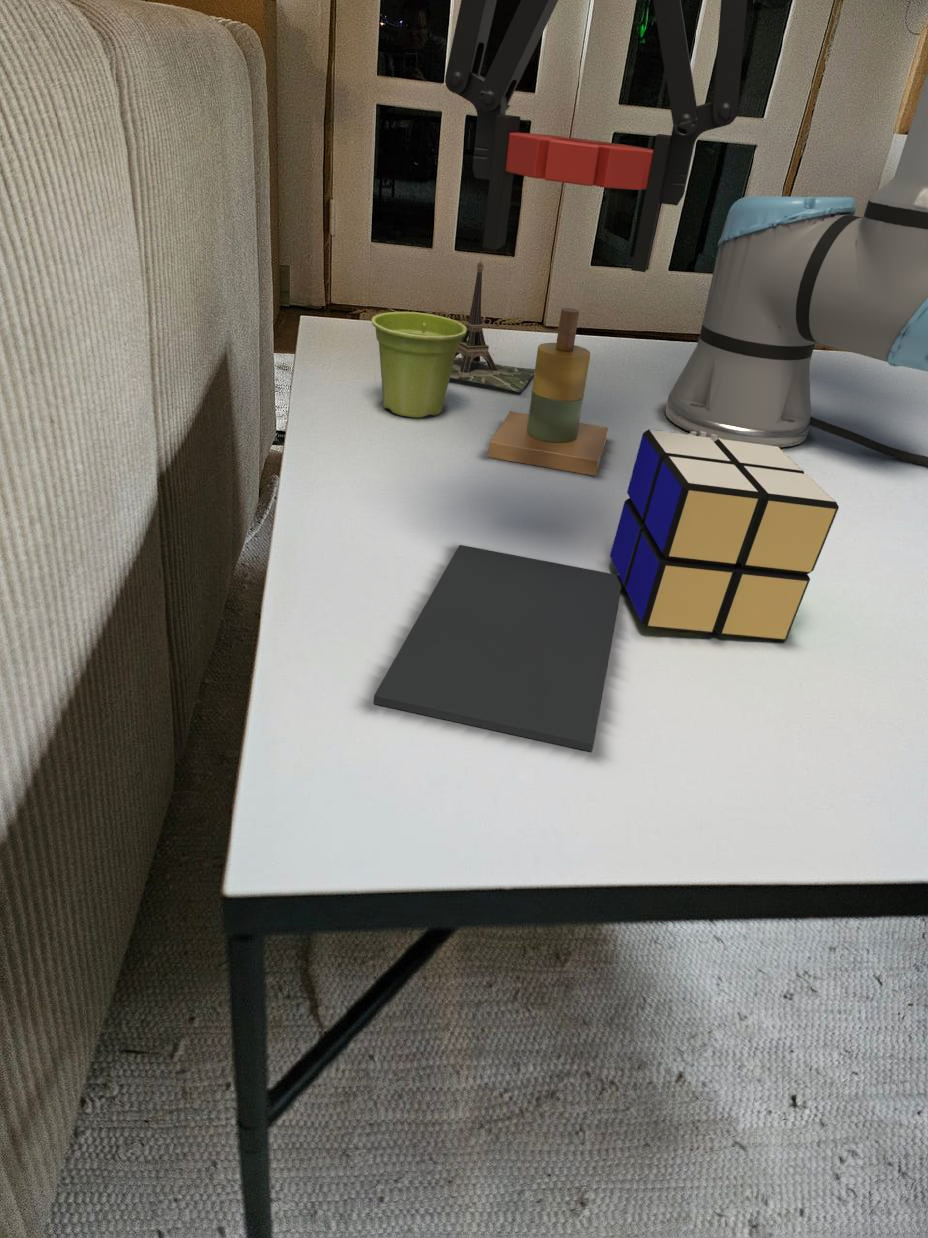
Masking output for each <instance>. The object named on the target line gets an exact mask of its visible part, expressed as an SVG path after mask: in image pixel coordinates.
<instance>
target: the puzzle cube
mask: <svg viewBox="0 0 928 1238" xmlns="http://www.w3.org/2000/svg"><path fill="white" fill-rule="evenodd" d="M626 493H627V495H628V498H626V499H625V500H624V502H623V506H622V510H621V513H620V517H619V520H618V525H617V528H616V530H615V531H616V532H615V535H614V539H613V541H612V542H613V543H612V547H611V551H610V554H609V557H610V560H611V561H612V564H613V566H614V568H615V570H616V572H617V575H619V576H620V578H621V580H622V586H624V587H625V591H626V594H627V595H628V597H629V600H630V602H631V604H632V606H633V608H634V610H635V612H636V614H637V616H638V618H639V621H640V623H641V624H642V626H643V627H644V628H645V629H656V630H658V629H659V630H666V631H667V630H668V631H678V632H689V633H697V634H707V635H708V634H712V633H713V632H714V631H715V632H716V633H717V636H727V637H737V638H748V639H759V640H769V641H778V642H779V641H780V642H782V641H785V640H786V639H787V638H788V637H789V635H790V632H791V629H792V627H793V623H794V621H795V618H796V616H797V614H798V612H799V608H800V607H801V604H802V601H803V599H804V597H805V594H806V592H807V588H808V586H809V583H810V581H811V577H810V575H809V574H810V573H812V572H813V571H814V570H815V568H816V565H817V563H818V561H819V558H820V556H821V553H822V550H823V548H824V546H825V544H826V540H827V538H828V536H829V533H830V531H831V529H832V526H833V523H834V521H835V519H836V517H837V514H838V511H839V508H840V506H839V505H838V502H837V501H836V500H835V499H834V498H833V497H832V496H831V495H829V493H828V492H826V491H825V489H823V488H822V487H821V486H820V485H819V484H818V483H817V482H816V481H815V480H814V479H813V478H812V477H811V476H810V475H809V474H808V473H805V472H804V469H802V468H801V467H800V466H799V465H798V464H797V463H796V462H795V461H794V460H793V459H792V458H791V457H790V456H789V455H788V454H786V453H785V451H783V450H782V449H781V447H777V446H769V445H762V444H755V443H747V442H740V441H732V440H725V439H717V440H716V441H714V442H713V441H712V440H711V438H709V437H702V436H699V435H696V436H694V435H688V433H687V434H686V433H679V432H671V431H666V430H665V431H663V430H658V429H657V430H656V429H647V430H646V431H644V432H642V436H641V438H640V443H639V447H638V450H637V454H636V457H635V462H634V465H633V469H632V472H631V476H630V479H629V484H628V487H627V491H626Z"/></svg>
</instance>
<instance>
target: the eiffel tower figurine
mask: <svg viewBox="0 0 928 1238" xmlns="http://www.w3.org/2000/svg"><path fill="white" fill-rule="evenodd" d="M482 256H483V252H481V254H480V259H482V258H483V257H482ZM476 264H477V266H476V270H477V271H476V278H475V284H474V288H473V289H474V291H473V295H472V300H471V301H472V302H471V307H470V311H469V316H468V319H467V321H466V322H465V324H466V325H465V326H466V328H467V331H466V334H465V335H464V336H463V337H462V339H461V342H460V346H459V348H458V349H457V350H456V354H455V358H454V362H453V366H452V370H451V374H450V379H455V380H460V381H461V380H462V381H467V382H472V383H475V384H483V385H487V386H491V387H496V388H500V389H504V390H507V391H508V390H509V391H511V392H512V391H513V392H519V393H521V392H522V391H523V390H524V388H525V387H526V385H527V384H528V383H529V381H530V380H531V379H532V377H534V373H535V368H531V367H529V368H528V367H519V366H518V367H517V366H509V365H502V364H498V363H495V361H494V360H493V358H492V355H491V353H490V352H489V347H490V346H489V345H488V344H486V340H485V336H484V330H483V327H484V324H483V323H482V322H483V321H482V289H483V288H482V287H483V285H482V283H483V270H484V263H483V261H482V260H480V261H479V262H478V263H476ZM458 355H461V357H457V356H458ZM481 357H482V358H483V359H484V360H485V361H482V360H481Z"/></svg>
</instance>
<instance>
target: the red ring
mask: <svg viewBox="0 0 928 1238" xmlns="http://www.w3.org/2000/svg"><path fill="white" fill-rule="evenodd" d="M653 151H654V149H652V148H649V147H641V146H635V145H629V144H622V143H613V142H611V141H610V142H609V141H600V140H593V139H587V138H578V137H566V136H560V135H551V134H543V133H542V134H540V133H532V132H531V133H530V132H520V131H519V132H518V133H510V134H509V142H508V151H507V159H506V168H505V171H508V172H510V173H514V174H515V175H519V176H522V177H523V176H524V177H528V178H532V179H540V180H541V179H542V180H545V181H549V182H557V183H564V184H572V185H577V186H578V185H579V186H586V187H599V188H604V189H618V190H631V191H633V190H634V191H641V190H644V191H646V188H647V183H648V178H649V172H650V167H651V161H652V156H653Z"/></svg>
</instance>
